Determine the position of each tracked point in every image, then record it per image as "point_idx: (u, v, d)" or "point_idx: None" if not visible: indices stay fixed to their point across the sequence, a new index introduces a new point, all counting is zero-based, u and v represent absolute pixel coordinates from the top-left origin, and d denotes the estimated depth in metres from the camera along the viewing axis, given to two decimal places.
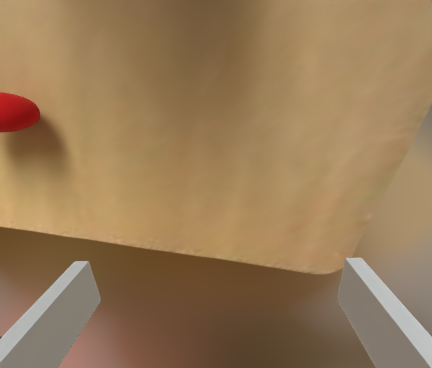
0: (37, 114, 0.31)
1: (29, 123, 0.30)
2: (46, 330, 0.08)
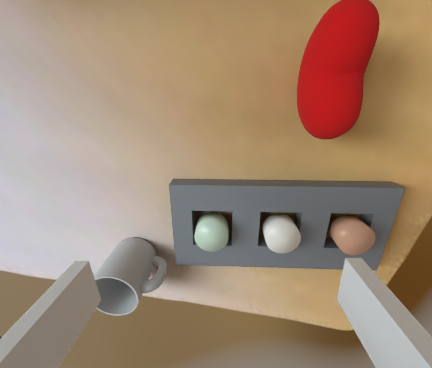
0: None
1: None
2: (46, 330, 0.08)
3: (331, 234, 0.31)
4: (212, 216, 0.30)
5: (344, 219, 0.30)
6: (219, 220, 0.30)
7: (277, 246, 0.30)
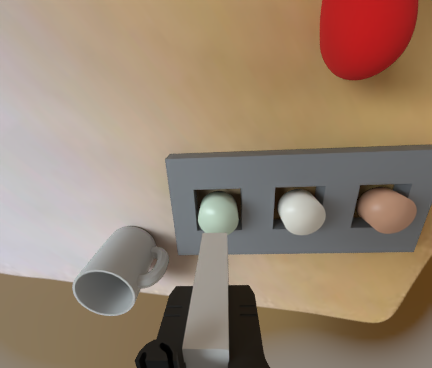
0: None
1: None
2: None
3: (360, 211, 0.26)
4: (218, 195, 0.26)
5: (376, 191, 0.25)
6: (226, 199, 0.25)
7: (297, 226, 0.25)
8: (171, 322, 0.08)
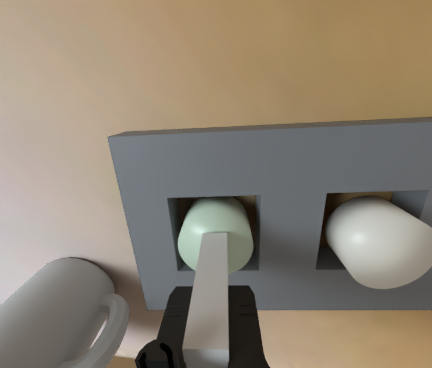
0: None
1: None
2: None
3: None
4: (215, 200, 0.14)
5: None
6: (231, 208, 0.14)
7: (376, 272, 0.12)
8: (171, 322, 0.08)
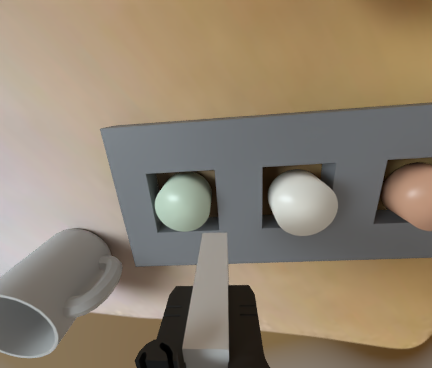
0: None
1: None
2: None
3: (387, 199, 0.18)
4: (183, 175, 0.19)
5: (411, 169, 0.17)
6: (194, 180, 0.19)
7: (296, 223, 0.17)
8: (171, 322, 0.08)
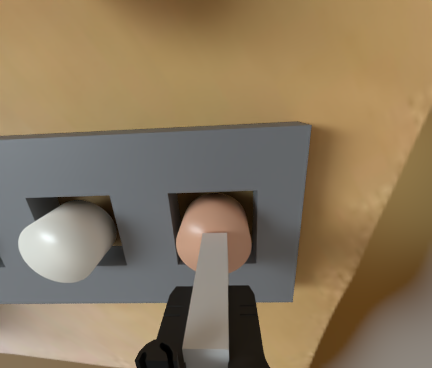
0: None
1: None
2: None
3: None
4: None
5: (198, 201, 0.15)
6: None
7: (53, 268, 0.14)
8: (171, 322, 0.08)
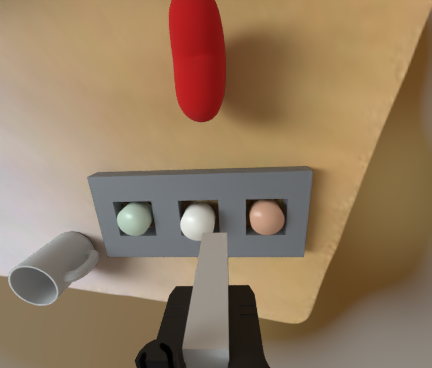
0: None
1: None
2: None
3: (249, 216, 0.33)
4: (135, 202, 0.33)
5: (258, 201, 0.32)
6: (140, 206, 0.32)
7: (193, 233, 0.30)
8: (171, 322, 0.08)
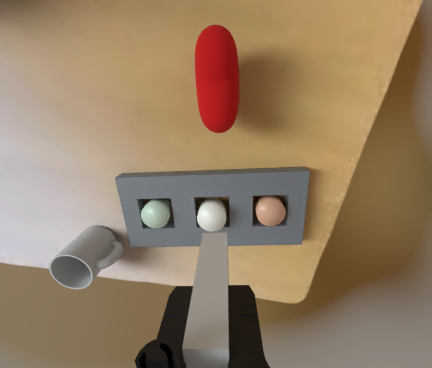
0: None
1: None
2: None
3: (255, 210, 0.38)
4: (156, 199, 0.37)
5: (263, 197, 0.37)
6: (161, 202, 0.37)
7: (208, 225, 0.35)
8: (171, 322, 0.08)
